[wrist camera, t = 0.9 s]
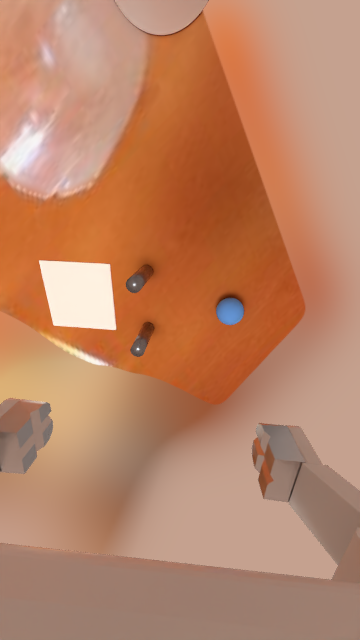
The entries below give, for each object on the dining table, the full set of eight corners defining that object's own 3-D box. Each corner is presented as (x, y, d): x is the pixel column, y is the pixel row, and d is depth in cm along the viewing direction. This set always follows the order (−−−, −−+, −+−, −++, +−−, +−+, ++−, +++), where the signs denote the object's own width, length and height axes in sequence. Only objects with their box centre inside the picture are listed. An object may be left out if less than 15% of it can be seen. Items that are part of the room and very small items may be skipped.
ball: (217, 293, 44) (218, 302, 40) (243, 294, 44) (248, 304, 39) (214, 317, 46) (215, 328, 42) (239, 318, 46) (243, 330, 41)
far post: (142, 322, 48) (130, 344, 40) (154, 322, 48) (143, 345, 40) (143, 332, 49) (131, 356, 41) (154, 332, 49) (144, 357, 41)
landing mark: (39, 260, 45) (38, 260, 45) (110, 263, 44) (109, 264, 44) (54, 324, 51) (53, 325, 51) (116, 329, 50) (116, 330, 50)
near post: (140, 264, 43) (125, 277, 35) (152, 265, 43) (140, 278, 35) (140, 277, 44) (126, 292, 36) (153, 278, 44) (141, 293, 36)
